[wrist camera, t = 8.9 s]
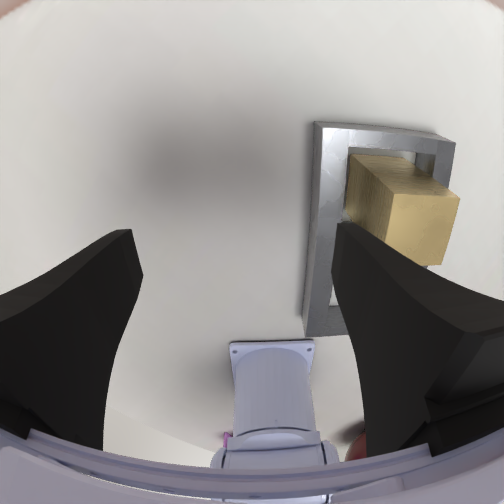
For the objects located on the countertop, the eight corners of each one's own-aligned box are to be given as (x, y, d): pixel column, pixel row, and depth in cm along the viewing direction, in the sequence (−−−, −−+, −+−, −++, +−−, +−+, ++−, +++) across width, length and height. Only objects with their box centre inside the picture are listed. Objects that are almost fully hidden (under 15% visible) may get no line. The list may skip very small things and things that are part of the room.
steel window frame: (395, 309, 25) (404, 328, 23) (301, 316, 26) (305, 337, 24) (436, 134, 17) (455, 142, 15) (314, 121, 17) (322, 127, 15)
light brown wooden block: (395, 210, 20) (440, 264, 14) (345, 209, 20) (379, 267, 14) (403, 157, 18) (460, 198, 12) (350, 153, 18) (394, 193, 12)
